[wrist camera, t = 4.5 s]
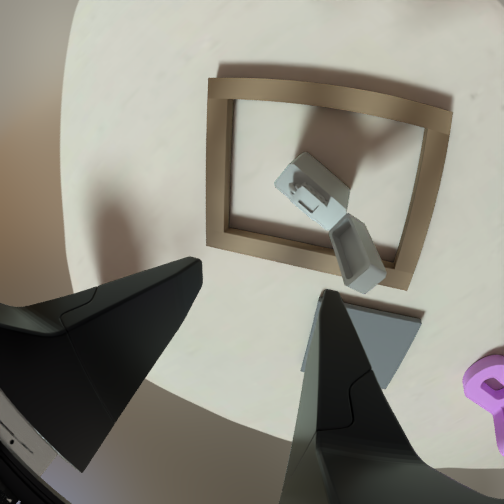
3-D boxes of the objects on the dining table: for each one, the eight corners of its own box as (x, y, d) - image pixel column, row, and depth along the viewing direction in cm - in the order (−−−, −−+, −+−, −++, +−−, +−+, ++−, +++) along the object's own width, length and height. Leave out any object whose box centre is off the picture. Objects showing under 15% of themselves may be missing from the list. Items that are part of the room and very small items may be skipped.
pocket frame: (448, 111, 15) (452, 112, 14) (405, 283, 21) (407, 290, 20) (214, 78, 19) (208, 77, 18) (211, 240, 25) (206, 245, 24)
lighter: (289, 168, 20) (249, 205, 14) (304, 150, 19) (271, 178, 13) (365, 235, 21) (362, 302, 14) (382, 219, 20) (388, 282, 13)
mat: (420, 319, 22) (421, 323, 21) (385, 384, 26) (385, 389, 26) (319, 297, 24) (318, 301, 24) (301, 366, 29) (300, 371, 28)
